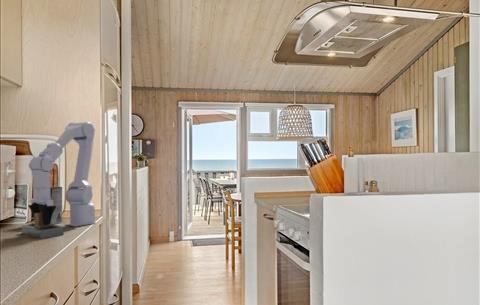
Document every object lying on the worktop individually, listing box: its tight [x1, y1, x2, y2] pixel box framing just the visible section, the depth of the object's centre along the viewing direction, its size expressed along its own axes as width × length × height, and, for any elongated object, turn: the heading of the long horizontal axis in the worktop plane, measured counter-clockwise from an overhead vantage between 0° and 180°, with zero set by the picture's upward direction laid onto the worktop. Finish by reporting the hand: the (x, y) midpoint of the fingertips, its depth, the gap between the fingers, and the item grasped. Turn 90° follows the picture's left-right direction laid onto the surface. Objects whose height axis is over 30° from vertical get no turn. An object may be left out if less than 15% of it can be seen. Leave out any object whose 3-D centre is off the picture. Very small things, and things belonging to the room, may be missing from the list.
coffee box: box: [50, 185, 63, 225], centre depth 163 cm, size 9×6×16 cm
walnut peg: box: [34, 213, 49, 228], centre depth 139 cm, size 4×4×8 cm
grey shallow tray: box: [21, 223, 65, 240], centre depth 139 cm, size 8×17×3 cm, turn 51°
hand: (42, 223), depth 139 cm, fingers open, 7 cm apart
